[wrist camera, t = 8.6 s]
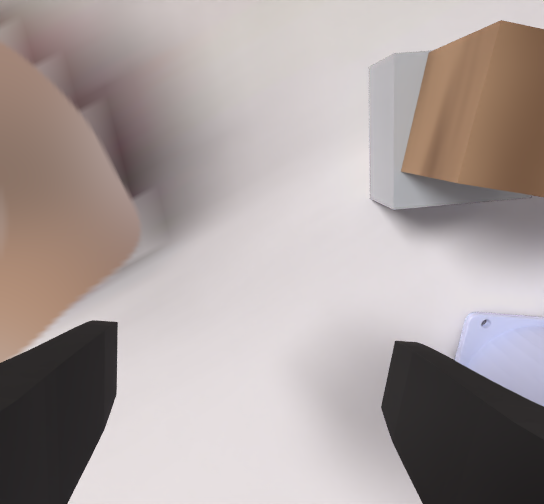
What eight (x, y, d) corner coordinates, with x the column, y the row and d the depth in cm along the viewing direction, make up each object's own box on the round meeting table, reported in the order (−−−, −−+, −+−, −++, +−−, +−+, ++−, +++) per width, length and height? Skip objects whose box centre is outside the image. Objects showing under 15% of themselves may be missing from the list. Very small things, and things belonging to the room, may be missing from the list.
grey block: (493, 59, 19) (546, 42, 16) (484, 187, 21) (531, 197, 18) (366, 67, 19) (394, 53, 16) (368, 197, 21) (393, 209, 17)
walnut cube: (536, 74, 16) (644, 50, 12) (502, 187, 17) (590, 204, 13) (428, 52, 16) (501, 20, 11) (400, 171, 17) (457, 183, 12)
